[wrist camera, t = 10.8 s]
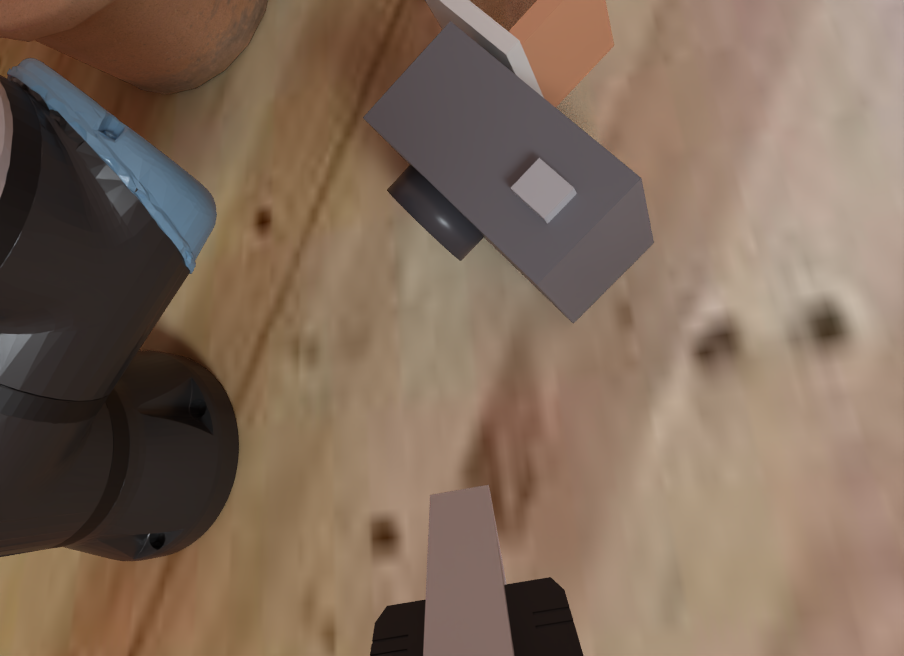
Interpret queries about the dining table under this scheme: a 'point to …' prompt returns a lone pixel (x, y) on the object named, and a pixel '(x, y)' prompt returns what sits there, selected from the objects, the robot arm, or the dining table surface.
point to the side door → (539, 40)
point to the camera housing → (510, 174)
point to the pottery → (140, 36)
